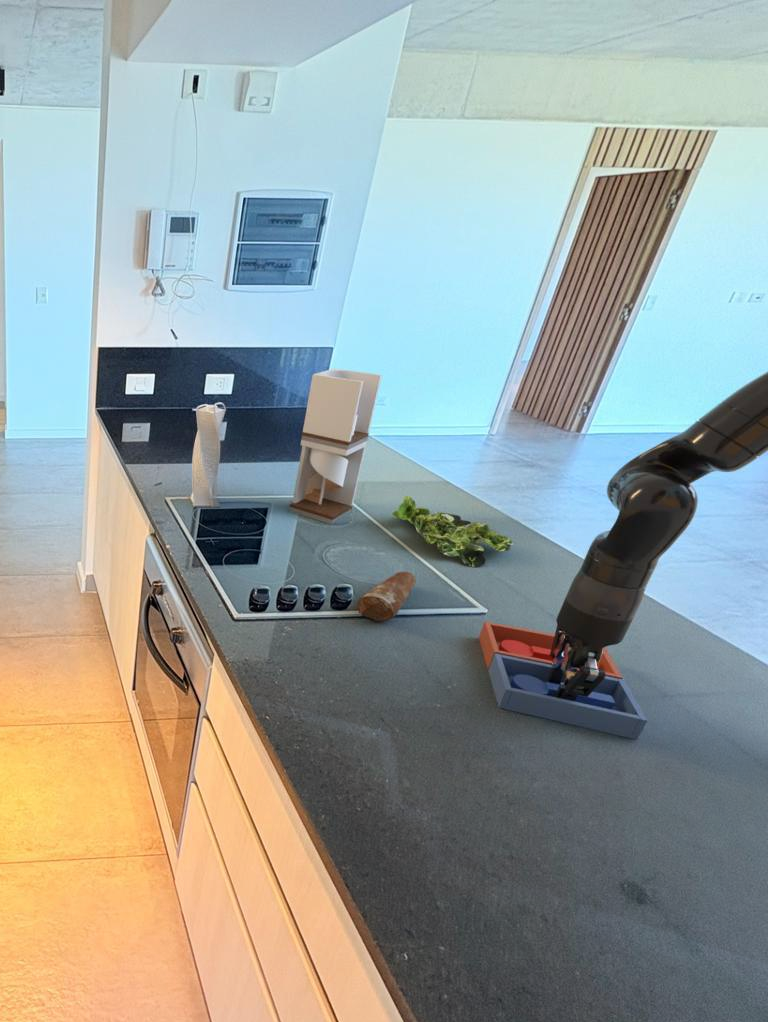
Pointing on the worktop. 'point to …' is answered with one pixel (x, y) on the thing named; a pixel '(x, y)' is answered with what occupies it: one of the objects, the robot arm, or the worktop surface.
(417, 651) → the worktop surface
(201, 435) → the skyscraper
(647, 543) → the robot arm
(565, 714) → the blue bin
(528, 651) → the red spoon
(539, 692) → the blue spoon
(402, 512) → the lettuce
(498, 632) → the red bin
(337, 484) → the white tiered shelf stand
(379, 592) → the brown rounded cylinder
